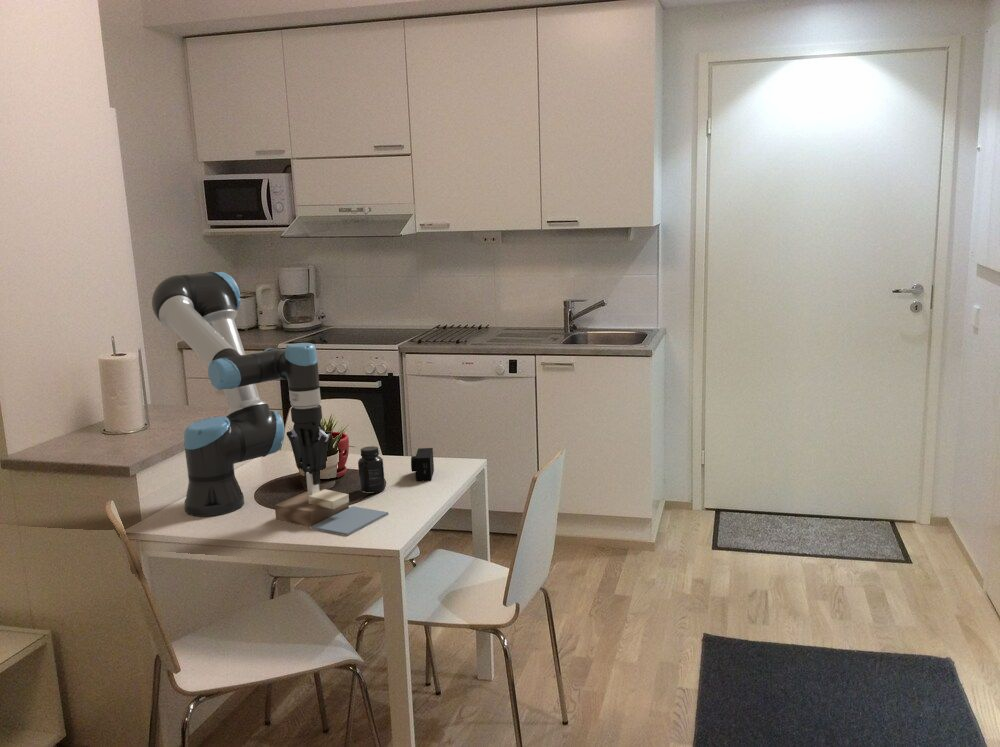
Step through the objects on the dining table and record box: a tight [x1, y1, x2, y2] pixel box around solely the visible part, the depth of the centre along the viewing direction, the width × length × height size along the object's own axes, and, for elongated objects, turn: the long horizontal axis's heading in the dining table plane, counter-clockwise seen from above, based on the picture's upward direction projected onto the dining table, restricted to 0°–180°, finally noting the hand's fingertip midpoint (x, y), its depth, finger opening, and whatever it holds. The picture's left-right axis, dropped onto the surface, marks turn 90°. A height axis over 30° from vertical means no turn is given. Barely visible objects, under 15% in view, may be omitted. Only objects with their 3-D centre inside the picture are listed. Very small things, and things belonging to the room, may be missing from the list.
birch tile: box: [308, 488, 350, 509], centre depth 225 cm, size 8×6×2 cm
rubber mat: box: [310, 505, 389, 537], centre depth 222 cm, size 12×16×1 cm
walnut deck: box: [274, 489, 350, 528], centre depth 228 cm, size 12×14×4 cm
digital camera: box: [410, 447, 435, 482], centre depth 257 cm, size 10×5×7 cm, turn 0°
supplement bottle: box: [357, 445, 386, 494], centre depth 245 cm, size 7×7×12 cm
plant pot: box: [331, 431, 350, 478], centre depth 261 cm, size 13×13×12 cm
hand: (314, 496), depth 227 cm, fingers closed
